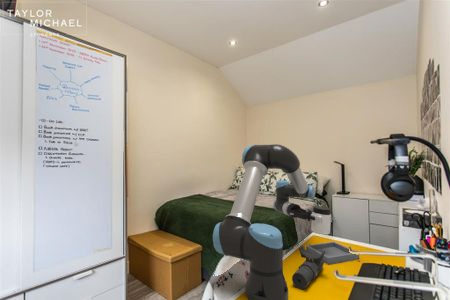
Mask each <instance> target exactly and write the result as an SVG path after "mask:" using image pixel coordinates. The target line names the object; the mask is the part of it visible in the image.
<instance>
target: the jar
mask: <svg viewBox="0 0 450 300" xmlns="http://www.w3.org/2000/svg"><path fill="white" fill-rule="evenodd" d="M312 211H313V212H312V214H313V215H316V216H321V217H323V223H318V222H315V221H313V220H311V225H310V230H311V232H313V233H315V234H319V235H324V236H327V235H329V234H330V233H331V223H332V214H331V213H332V212H331V211H332V209H331V208H329V207H325V206H317V205H315V206H313V207H312Z"/></svg>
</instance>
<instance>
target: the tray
mask: <svg viewBox="0 0 450 300" xmlns="http://www.w3.org/2000/svg"><path fill="white" fill-rule="evenodd" d="M349 248H350V247H348V246H345V245H343V244H340V243H339V242H337V241H329V242H321V243H314V244H309V245H308V244H307V245H305V251H306V252H308V253H310V254H312V255H313V254H318V255H322V254H321V253H322V252H323V251H325V254H324V257H323V260H324V264H327V265H328V266H329V265H334V264H340V263H346V262H350V261H351V262H352V261H357V259H358V260H360V254H359V255H356V254H352V253H350V252H349ZM352 250H353V251H355V250H354V249H352Z"/></svg>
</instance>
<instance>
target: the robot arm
mask: <svg viewBox="0 0 450 300" xmlns="http://www.w3.org/2000/svg"><path fill="white" fill-rule="evenodd" d="M241 164H242V165H243V169H244V173H243V177H242V178H241V181H240V185H239V188H238V190H237V192H236V197H235V199H234V202H233V205H232V207H231V211H230V213H229V214H227V215H225V216H224V219H223V221H221V222H218V223H216V224H215V226H214V229H213V233H212V243H213V247H214V250H215V251H216V252H217V253H219V254H221V255H224V256H226V257H231V258H236V259H240V260H245V261H247V262H248V261H249V272H248V275H247V279H246V282H245V285H244V287H245V290H244V291H245V292H244V293H246V294H245V296H246V297H247V299H248V300H289V299H288V298H289V287H288V284H287V281H286V278H285V275H284V271H283V270H284V266H283V263H284V262H283V261H284V258H283V247H284V242H283V235H282V232H281V230H279V229H278V228H277V227H276V226H274V225H270V224H267V223H259V222H258V223H251V218H252V214H253V211H254V209H255V205H256V202H257V197H258V194H259V192H260V189H261V183H262V180H263V178H264V176H266V175H267V174H268V172H269V170H270V169H271V170H274V169H275V170H281V172H283V173H284V174H286V176H287V178H288V180H289V181H290V182H289V181H288V180H277V181H276V184H275V193H276V197H275V199H274V202H273V204H272V205H273V209H274V210H275V211H276V212H278V213H281V214H284V215H286V216H288V217H291V218H293V219H301V220H304V221H305V220H307V221H308V222H311V221H312V220H313V221H315V222H318V223H323V217H321V216H316V215H313V214H312V212H313V210H311V209H309V208H308V209H304V208H302V207H301V206H300V205H299V204H296V203H295V202H290V201H289V199H290V198H299V199H314V197H315V186H314V185H311V184H308V182H307V180H306V178H305V176H304V174H303V172H302V169H301V167H300V166H301V162H300V159H299V157H298V156H297V154H295V152H293V151H292V150H291V149H290V148H288V147H286V146H284V145H282V144H277V143H275V144H253V145H248V146H246V148H244V150H243V152H242V159H241Z"/></svg>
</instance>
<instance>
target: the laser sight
mask: <svg viewBox="0 0 450 300" xmlns="http://www.w3.org/2000/svg"><path fill="white" fill-rule="evenodd" d="M298 249H299V254H300V257H301V258H303V259H305V260H304V261H303V262H302V263H301V264H300V265H299V266H298V269H297V270H296V271H295V272H294V273H293V275H292V276H291V281H292V283H293V285H294V286H295V287H296V288H298V289H299V290H304V289H306V287H307V286H308V285H309V284H310V283H311V282H312V281H313V280H315V278H316V277H317V276H318V275H319V273H320V272H321V270H322V269H323V267H324V264H325V262H324V260H323V257H324V254H325V251H323V252H322V253H321V254H322V255H318V254H313V255H312V254H310V253H308V252H306V249H305V248H304V245H301V246H300V247H299V248H298Z"/></svg>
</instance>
